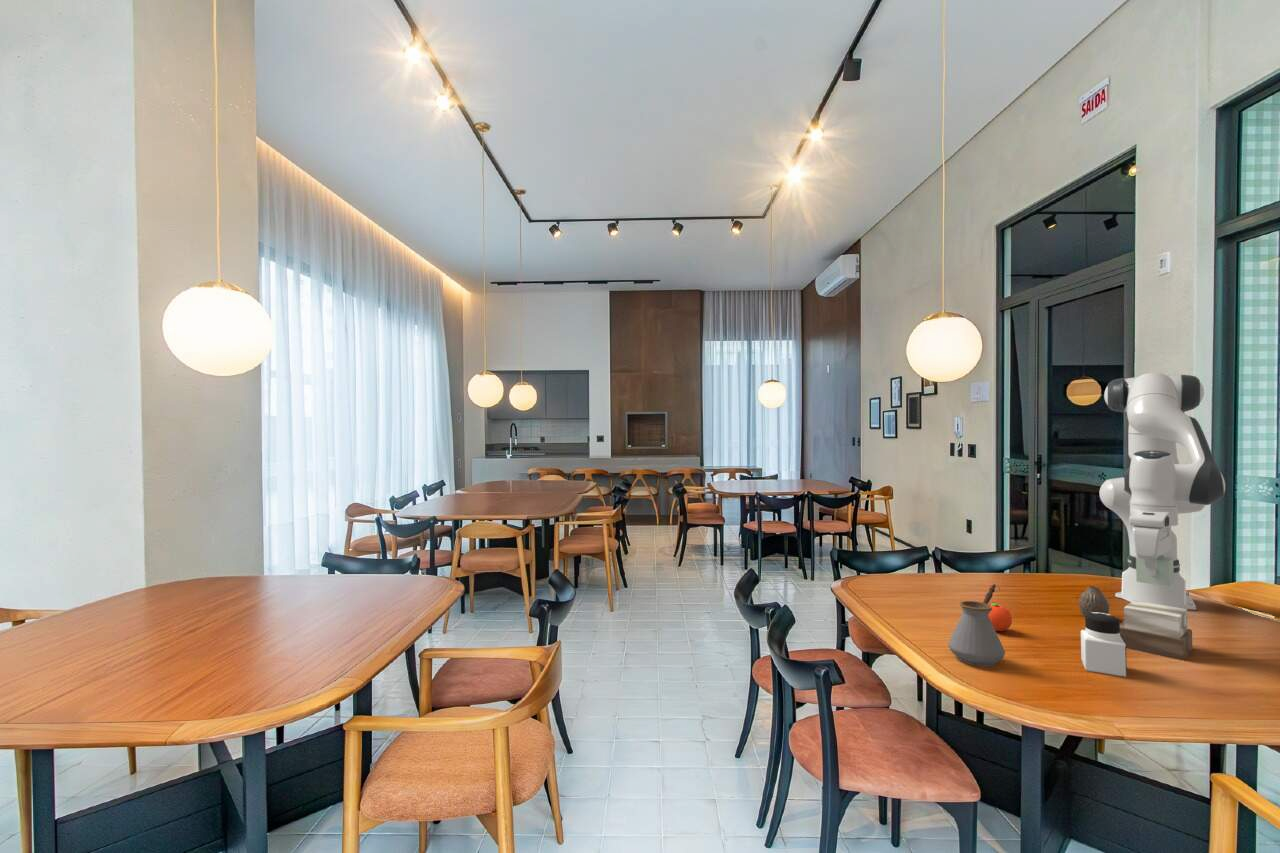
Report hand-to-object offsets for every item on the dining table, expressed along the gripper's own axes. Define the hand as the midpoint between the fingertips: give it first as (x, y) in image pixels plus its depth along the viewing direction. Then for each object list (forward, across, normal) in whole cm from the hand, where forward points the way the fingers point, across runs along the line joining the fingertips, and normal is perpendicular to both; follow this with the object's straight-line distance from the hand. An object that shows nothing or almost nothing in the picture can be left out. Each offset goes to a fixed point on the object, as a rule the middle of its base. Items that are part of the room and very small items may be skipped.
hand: (1154, 572), depth 140 cm
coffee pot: (+19, +37, -26) cm, 49 cm away
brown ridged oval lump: (+18, -17, -16) cm, 30 cm away
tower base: (+19, 0, 0) cm, 19 cm away
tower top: (+14, 0, 0) cm, 14 cm away
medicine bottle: (+19, +26, -5) cm, 32 cm away
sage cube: (+2, 0, 0) cm, 2 cm away
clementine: (+19, +16, -30) cm, 39 cm away
